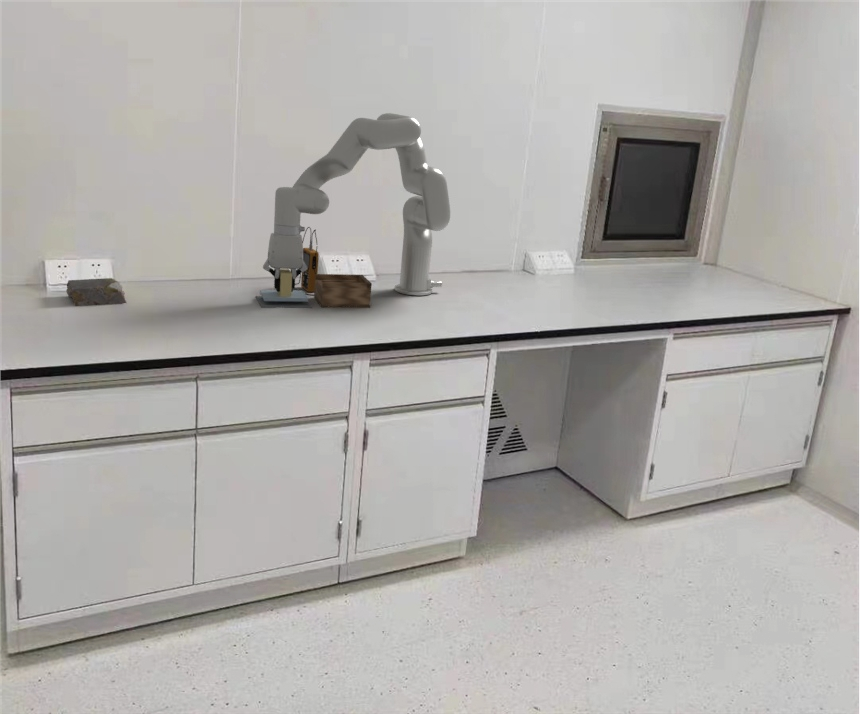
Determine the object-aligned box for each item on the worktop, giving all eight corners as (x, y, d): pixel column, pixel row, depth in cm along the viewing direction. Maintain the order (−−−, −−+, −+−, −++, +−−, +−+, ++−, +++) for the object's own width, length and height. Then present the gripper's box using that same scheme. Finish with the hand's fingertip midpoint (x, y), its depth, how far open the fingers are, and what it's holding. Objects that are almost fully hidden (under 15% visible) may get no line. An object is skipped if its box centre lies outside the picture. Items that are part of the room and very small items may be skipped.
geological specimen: (62, 280, 242) (118, 275, 250) (65, 301, 244) (119, 295, 252) (69, 288, 234) (126, 283, 241) (71, 309, 235) (128, 304, 243)
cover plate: (302, 293, 266) (303, 268, 263) (308, 301, 258) (309, 275, 255) (260, 293, 261) (260, 267, 259) (264, 301, 253) (265, 274, 251)
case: (360, 298, 273) (362, 274, 271) (369, 307, 263) (371, 283, 261) (314, 297, 268) (315, 273, 266) (321, 307, 258) (323, 282, 256)
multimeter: (275, 284, 279) (278, 223, 273) (305, 284, 284) (308, 224, 278) (290, 296, 267) (293, 232, 261) (321, 295, 272) (324, 232, 266)
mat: (304, 297, 268) (304, 296, 268) (312, 307, 257) (312, 306, 257) (255, 296, 263) (255, 295, 263) (261, 307, 252) (261, 306, 252)
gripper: (311, 228, 259) (308, 288, 265) (256, 226, 254) (254, 287, 260) (317, 233, 253) (313, 294, 258) (260, 231, 247) (258, 293, 253)
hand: (284, 290), depth 259 cm, fingers closed on cover plate, 3 cm apart
